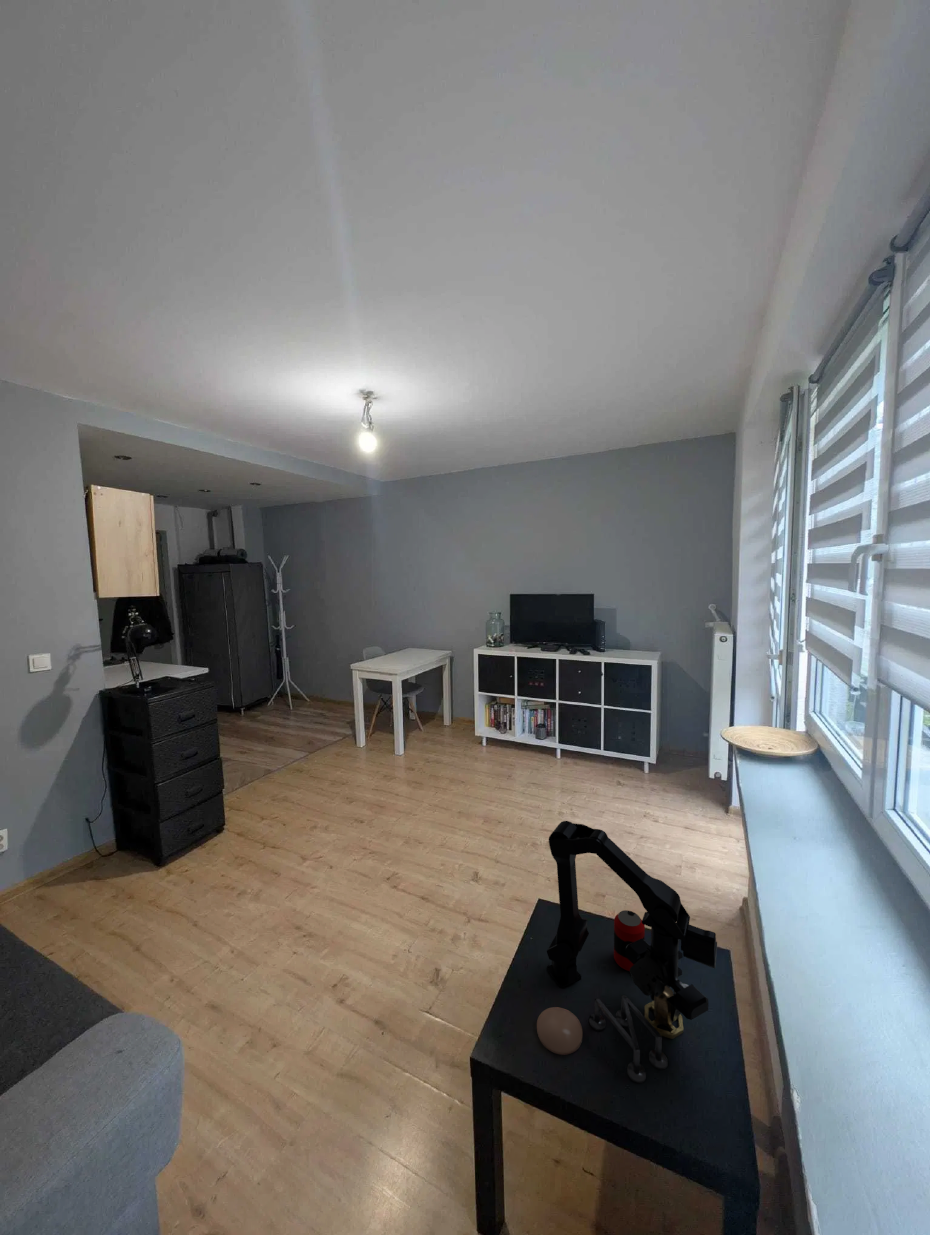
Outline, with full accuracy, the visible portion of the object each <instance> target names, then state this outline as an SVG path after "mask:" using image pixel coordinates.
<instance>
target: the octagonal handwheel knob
mask: <svg viewBox="0 0 930 1235" xmlns="http://www.w3.org/2000/svg"><path fill="white" fill-rule="evenodd" d="M673 994H674V991H673V990H672V989H671V987H670V988H668V987H667V986H665V990H664V991H663V992H662V993H661V994H660V995H659V996H658V997H655V996H654V1001H653V1000H651V1001H650V1002H649V1003H646V1004H645V1005H644V1017H645V1018H646V1019H647V1020H648V1021H649V1022H650V1023H651V1025H652V1026H653V1027H654V1028H655V1029H656V1030H657V1031H658V1032H659V1034H660V1035H661V1037H665V1038H668V1039H671V1040H673V1039H675V1038H677V1037H678V1036H680V1035H682V1034H683V1033H684V1024H683V1022H684V1021H683V1020H684V1019H683V1015H682V1014H680V1015H679V1016H678V1018H677V1019H676V1020H678V1027H675V1026H674V1025H673V1023H674V1022H673V1021H672V1020H671V1004H670V1003H669V1002H668V1001H667V999H668V998H669V997H671V996H673ZM650 1011H652V1012H653V1016H654V1019H653V1020H651V1019H650V1018H649V1012H650ZM660 1025H662V1026H666V1027H667V1028H668V1029H669V1030H665V1029H662V1028H659V1027H658V1026H660Z"/></svg>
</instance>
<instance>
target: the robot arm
mask: <svg viewBox="0 0 930 1235" xmlns="http://www.w3.org/2000/svg"><path fill="white" fill-rule="evenodd" d="M548 845H549V849H550V853H551V856H552V858H553V859H554V861H555V863H556V871H557V886H558V899H559V900H558V901H559V903H558V904H559V913H560V914H559V915H560V917H559V922H558V925H557V926H558V927H557V929H556V934H555V935H554V938H553V939H552V941H551V943H550V944H549V946H548V947H547V950H546V953H547V954H546V955H547V957H548V959H549V961H551V964H549V965H547V966H546V970H547V971H548V973H549V974H550V976H551V977H552V978H553V980H554V981H555V982H556V983H557V985H558V987H559V988H565V987H566V986H569V985H572V984H573V983H575V982H578V981H580V980H581V979H582V975H581V974H580V972H578V966H577V957H578V955H579V954H580V952H581V951H582V949H583V947H584V945H585V943H586V940H587V938H588V937H589V931H588V919H584V918H582V917H581V915H580V912H579V910H580V909H579V900H578V898H579V897H578V884H577V881H578V880H577V870H576V869H577V867H576V858H577V855H584V854H595V855H596V856H598V858H599V859H601V861H602V862H604V863H605V865H607V866H608V867H609V868H610V869H611V871H613V872H614V873H615V874H616V875H617V876H618V877H619V878H620V879H621V880H622V881H623V882H624V883H625V884H626V885H627V886H628V887H630V888H631V890H632V891H633V892H634V893H635V895H637V897H638V898H639V900H640V903H641V905H642V907H643V909H644V910H645V912H644V914H643V916H642V919H641V920H642V924H644V925H645V927H649V928H650V929H651V930H650V944H649V943H648V942H647V941H646V940H643V939H639V940H637V941H635V942H633V943H630V944H628V945H627V946H626V957H627V958H628V959H629V960H630V961H631V962H632V963H633V964H634V965H633V966H632V967H631V968H630V971H629V974H630V975H631V976H630V977H631V979H632V983H633V984H634V985H635V986H636V987H637V988H638V989H639V990H640V991H641V993H642V994H644V995H645V996H648V997H649V996H650V999H651V1001H654V996H655V997H658V996H659V995H660V994H661V993H662V992H663V991H664V990H665V986H667V987H668V988H670V989H671V988H672V989H673V990H672V989H671V990H672V991H673V996H671V997H669V998H668V999H667V1001H668V1002H669V1003H670V1004H671V1020H672V1021H673V1023H674V1022H675V1021H677V1020H678V1019H677V1018H678V1016H679V1015H682V1016H684V1018H685V1019H687V1020H690V1021H692V1020H694V1019H695V1018H697V1017H699V1016H701V1015H702V1014H704V1013H706V1012H707V1011H709V998H708V997H707V996H705V995H704V994H703V993H702V992H701V991H700V990H699V988H697V987H696V986H695V985H694V984H690V985H689V984H687V983H683V982H682V981H681V980H680V979H679V977H681V976H682V975H683V970H682V969H681V968H680V967H679V960H682V959H683V957H684V958H687V959H689V960H692V961H694V962H696V963H699V964H701V965H704V966H706V967H710V968H712V969H714V970H715V969H716V965H717V964H716V963H717V954H718V953H717V952H718V941H717V937H716V935H717V934H716V933H715V932H714V931H711V930H706V929H702V928H701V927H697V926H694V925H692V924H690V920H691V916H690V914H689V913H688V911H687V910H686V909H685V908H686V907H685V906H684V905H683V904H682V902H681V897H680V895H679V893H678V892H677V891H676V890H675V889H673V888H672V887H670V886H669V884H667V883H665V882H664V881H662V880H661V879H658V878H655V877H653V876H651V875H649V874H648V873H647V872H646V871H645V870H644V869H643V868H642V867H640V866H639V865H638V864H637V863H636V861H634V860H633V859H632V858H631V857H630V856H629V855H627V853H625V852H624V851H623V850H622V849H621V848H620V847H619V846H618V845H617V843H615V842H614V841H612V839H611V838H610V837H609V836H608V834H607V833H606V831H604V830H603V829H598V828H592V827H590V826H588V825H586V824H582V823H573V822H572V821H569V820H563V821H561V822H560V823H559V824H558V825H557V826H556V827H555V829H554V830H553V831H552V832H551V834H550V835H549V837H548ZM679 941H680V944H679ZM679 945H680V948H679ZM679 949H680V950H681V951H680V950H679ZM682 952H683V953H682Z"/></svg>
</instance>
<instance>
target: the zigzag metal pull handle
mask: <svg viewBox="0 0 930 1235" xmlns="http://www.w3.org/2000/svg"><path fill="white" fill-rule="evenodd" d="M620 998H621V1000H620V1002H621V1003H620V1009H619V1010H617V1011H616V1012H615V1016H614V1015H613V1014H612V1013H611V1011H609V1009H608V1008H607V1007H606V1005H605V1004H604V1002H602V1001H601V999H600V998H597V997H596V998H595V999H594V1012H593V1013H591V1014H590V1015H589V1017H588V1021H589V1022H588V1023H589V1027H591V1028H592V1029H593V1030H595V1031H603V1030H604V1029H605V1028H606V1025H607V1024H606V1022H607V1021H606V1019H605V1017H604V1016H603V1015H602V1014H601V1012H602V1013H603V1014H604V1015H605V1016H606V1017H607V1019H608V1020H609V1022H611V1023H612V1025H613V1026H614V1027H615V1029H616V1030H617V1031H618V1032H619V1033H620V1035H621V1036H622V1037H623V1039H625V1041H626V1042H627V1043H628V1045H629V1046H630V1047H631V1049H632V1050H633V1061H630V1062H629V1063H628V1064H627V1067H626V1068H627V1069H626V1071H627V1072H626V1073H627V1076H628V1077H629V1079H630V1080H631V1081H633V1082H634V1083H636V1084H643V1083H645V1081H646V1079H647V1071H646V1070H645V1067H644V1066H643V1064H641V1063H640V1062H641V1049H640V1046H639V1043H638V1038H637V1035H636V1034H637V1033H636V1031H635V1028H634V1022H633V1017H632V1015H631V1012H630V1010H631V1011H632V1012H633V1014H634V1015H636V1017H637V1018H638V1019H639V1020H640V1021H641V1023H642V1024H643V1025H644V1026H645V1027H646V1028H647V1030H649V1032H650V1033H651V1034H652V1035H653V1036H654V1037H655V1044H654V1045H655V1046H654V1047H655V1048H654V1049H651V1050H650V1051H649V1053H648V1059H649V1060H648V1061H649V1063H650V1065H652V1067H654V1068H655V1069H657V1070H660V1071H662V1070H665V1069H667V1068H668V1062H669V1060H668V1058H667V1056H666V1054H665V1052H663V1051H662V1049H663V1048H662V1047H663V1046H662V1043H663V1042H662V1040H663V1039H662V1037H663V1036H661V1035H660V1034H659V1032H658V1031H657V1030H656V1029H655V1028H654V1027H653V1026H652V1025H651V1023H650V1022H649V1021H648V1020H647V1019H646V1018H645V1015H643V1013H642V1012H641V1011H640V1010H639V1009H638V1008H637V1006H636V1005H635V1004H634V1003H633V1002H632V1001H631V999H629V998H628V996H627V995H625V994H624V995H621V996H620ZM623 1027H624V1028H623ZM625 1028H628V1029H629V1033H630V1035H629V1033H628V1031H626V1030H625Z"/></svg>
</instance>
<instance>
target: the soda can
mask: <svg viewBox="0 0 930 1235" xmlns="http://www.w3.org/2000/svg"><path fill="white" fill-rule="evenodd" d="M645 929H646V925H644V924H642V919H641V917H640V915H639V914H637V913H636V912H634V911H631V910H628V909H627V910H626V909H625V910H621V911H620V912H619V913H617V914H616V915H615V916H614V919H613V959H614V961H615V963H616V964H617V965H618V966H619V967H620V968H621V969H623V970H625V971H627V972H630V968H631V967H632V966H633V965H634V964H633V963H632V962H631V961H630V960H629V959H628V958H627V957H626V946H627V945H628V944H630V943H633V942H635V941H637V940H639V939H643V940H645V934H646V933H645ZM645 941H646V940H645Z"/></svg>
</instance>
